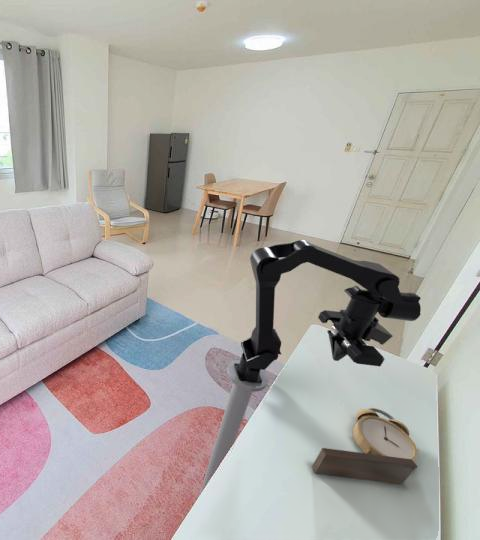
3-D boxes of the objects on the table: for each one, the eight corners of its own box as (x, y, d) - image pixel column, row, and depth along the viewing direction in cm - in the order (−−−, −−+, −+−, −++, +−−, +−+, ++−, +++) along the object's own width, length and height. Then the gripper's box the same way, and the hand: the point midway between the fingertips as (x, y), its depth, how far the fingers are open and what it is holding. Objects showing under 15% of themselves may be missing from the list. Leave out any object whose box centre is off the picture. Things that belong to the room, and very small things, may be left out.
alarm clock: (358, 445, 68) (359, 394, 78) (349, 455, 71) (351, 404, 80) (422, 475, 62) (414, 416, 72) (410, 484, 65) (404, 426, 75)
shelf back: (311, 466, 66) (322, 447, 63) (396, 477, 65) (412, 459, 62) (314, 473, 65) (325, 454, 62) (401, 484, 63) (417, 466, 60)
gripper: (424, 342, 64) (390, 391, 71) (370, 296, 81) (347, 340, 88) (370, 335, 65) (342, 385, 72) (327, 292, 81) (308, 336, 89)
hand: (335, 359), depth 80 cm, fingers closed
